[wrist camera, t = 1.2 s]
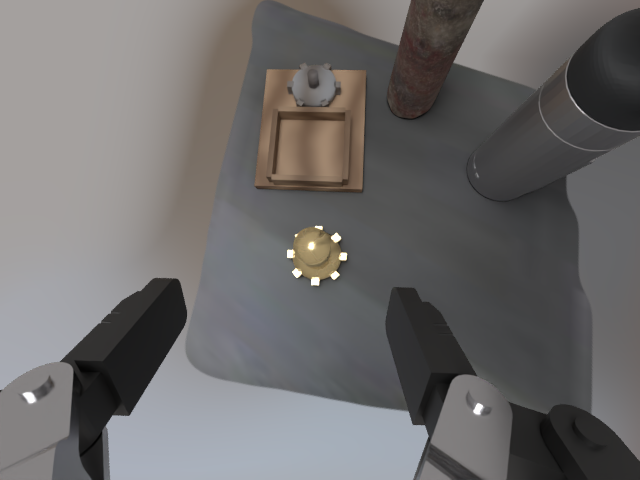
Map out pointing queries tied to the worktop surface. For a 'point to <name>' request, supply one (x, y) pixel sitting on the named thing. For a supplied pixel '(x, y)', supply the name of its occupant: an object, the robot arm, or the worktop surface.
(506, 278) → the worktop surface
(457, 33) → the candle
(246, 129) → the worktop surface
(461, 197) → the worktop surface
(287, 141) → the gear board
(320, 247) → the gear shaft
